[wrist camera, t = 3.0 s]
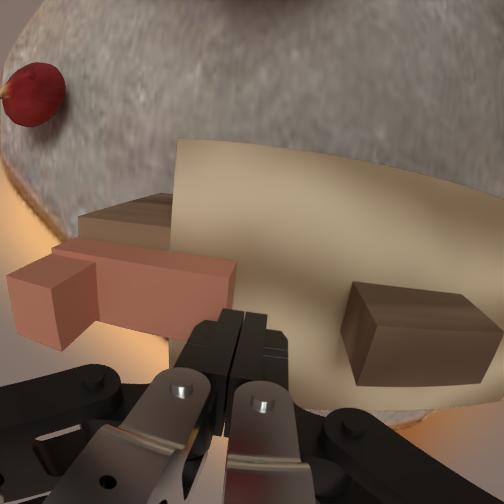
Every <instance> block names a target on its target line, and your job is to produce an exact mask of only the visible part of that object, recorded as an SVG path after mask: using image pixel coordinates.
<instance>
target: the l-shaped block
mask: <svg viewBox="0 0 504 504" xmlns="http://www.w3.org/2000/svg"><path fill="white" fill-rule="evenodd" d="M236 266H237V261H232V260H225V259H218V258H211V257H204V256H197V255H190V254H183V253H176V252H169V251H163V250H156V249H149V248H142V247H136V246H129V245H122V244H116V243H109V242H103V241H96V240H90V239H83V238H77V237H76V238H74V239H71V240H69V241H67V242H64V243H62V244H60V245H57V246H55V247H53V248H52V254H50V255H48V256H45V257H43V258H41V259H39V260H37V261H35V262H33V263H31V264H29V265H27V266H24V267H22V268H20V269H18V270H16V271H14V272H12V273H10V274H8V275H6V277H7V284H8V290H9V295H10V301H11V305H12V311H13V315H14V319H15V324H16V328H17V332H18V334H20V335H22V336H24V337H27V338H29V339H31V340H34V341H36V342H38V343H41V344H43V345H46V346H48V347H51V348H53V349H56V350H58V351H61V352H62V351H63V350H64V349H65V348H66V347H67V346H68V345H70V343H72V342H73V341H74V340H75V339H76V338H77V337H78V336H79V335H80V334H81V333H83V331H85V330H86V329H87V328H88V327H89V326H90V325H91V324H92V323H93V322H94V321H100V322H104V323H107V324H111V325H115V326H119V327H123V328H127V329H131V330H135V331H140V332H144V333H148V334H152V335H157V336H162V337H166V338H171V339H176V340H181V341H186V342H187V340H188V338H189V336H190V334H191V332H192V331H193V329H194V327H195V326H196V325H197V324H199V323H200V322H202V321H204V320H210V321H216V322H217V321H218V318H219V316H220V313H221V311H222V309H223V308H226V309H232V304H233V294H234V285H235V275H236Z"/></svg>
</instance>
